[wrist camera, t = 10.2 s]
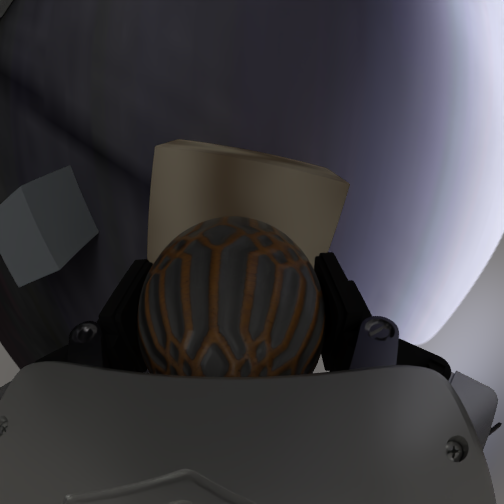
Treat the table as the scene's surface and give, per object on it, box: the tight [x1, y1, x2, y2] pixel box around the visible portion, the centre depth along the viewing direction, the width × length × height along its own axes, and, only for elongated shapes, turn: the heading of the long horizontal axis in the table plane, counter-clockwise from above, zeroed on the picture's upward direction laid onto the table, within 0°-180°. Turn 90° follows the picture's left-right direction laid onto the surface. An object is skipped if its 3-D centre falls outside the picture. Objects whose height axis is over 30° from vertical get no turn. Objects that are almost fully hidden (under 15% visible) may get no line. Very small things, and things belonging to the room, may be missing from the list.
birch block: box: [147, 139, 350, 269], centre depth 17 cm, size 10×10×5 cm
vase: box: [137, 216, 326, 377], centre depth 9 cm, size 7×7×9 cm
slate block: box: [0, 166, 99, 287], centre depth 16 cm, size 6×6×6 cm
